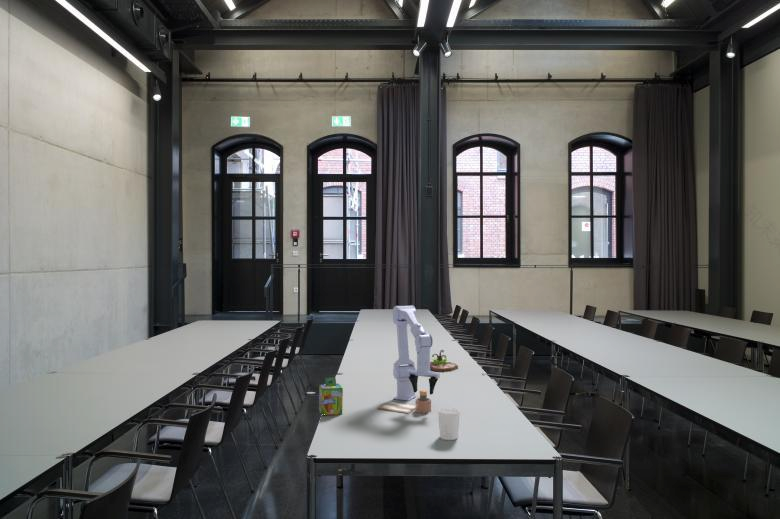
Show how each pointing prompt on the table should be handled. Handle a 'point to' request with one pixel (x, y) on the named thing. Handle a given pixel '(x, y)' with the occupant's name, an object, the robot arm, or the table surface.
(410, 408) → the wooden picture frame
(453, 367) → the plant
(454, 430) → the white cup
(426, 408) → the pen cup
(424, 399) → the marker
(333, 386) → the chalk box
